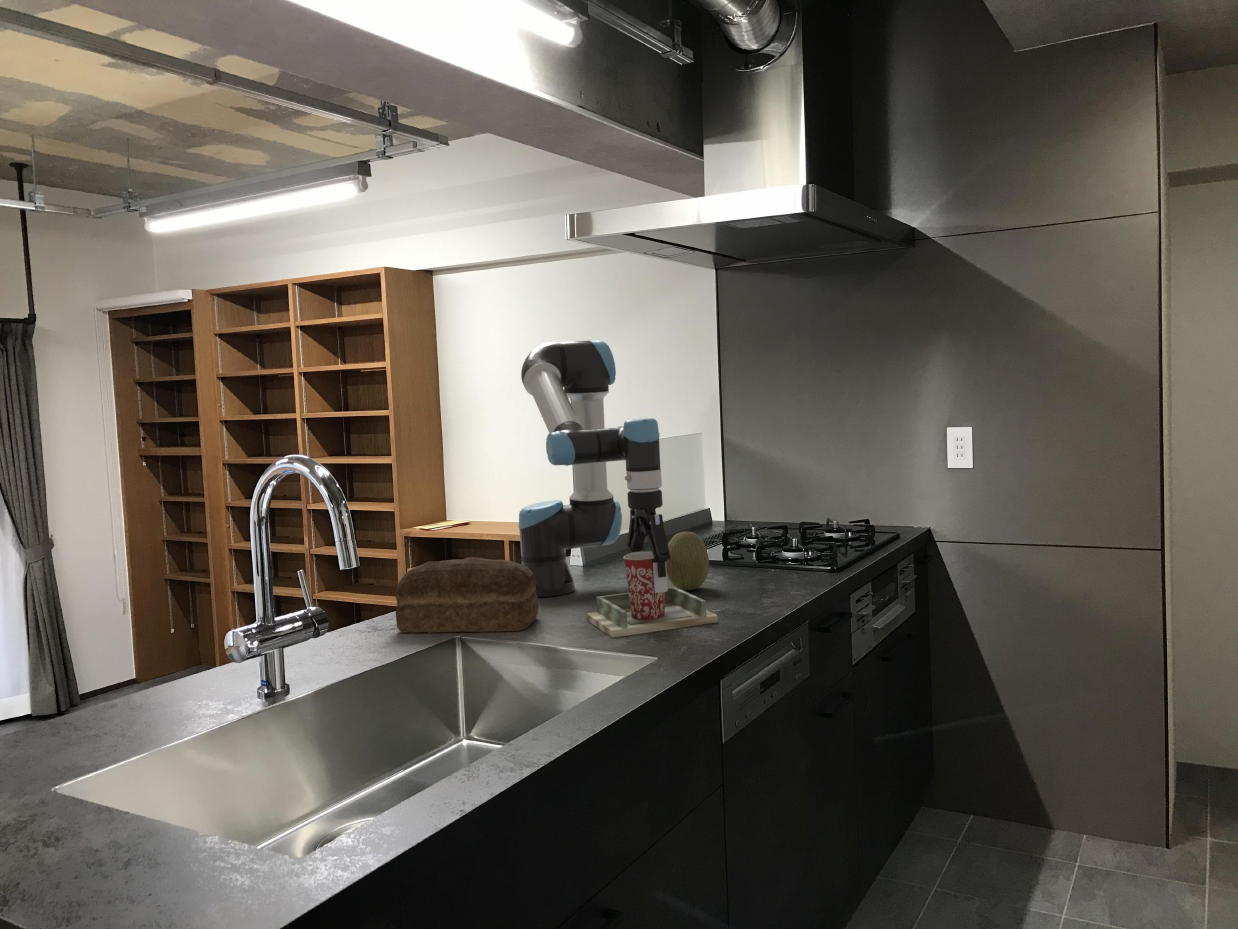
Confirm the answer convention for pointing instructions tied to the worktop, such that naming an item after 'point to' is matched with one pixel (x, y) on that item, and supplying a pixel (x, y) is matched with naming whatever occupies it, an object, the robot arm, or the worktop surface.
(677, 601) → the tray
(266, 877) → the worktop surface
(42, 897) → the worktop surface
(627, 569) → the mug
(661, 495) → the robot arm
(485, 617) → the bread
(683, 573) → the fruit
